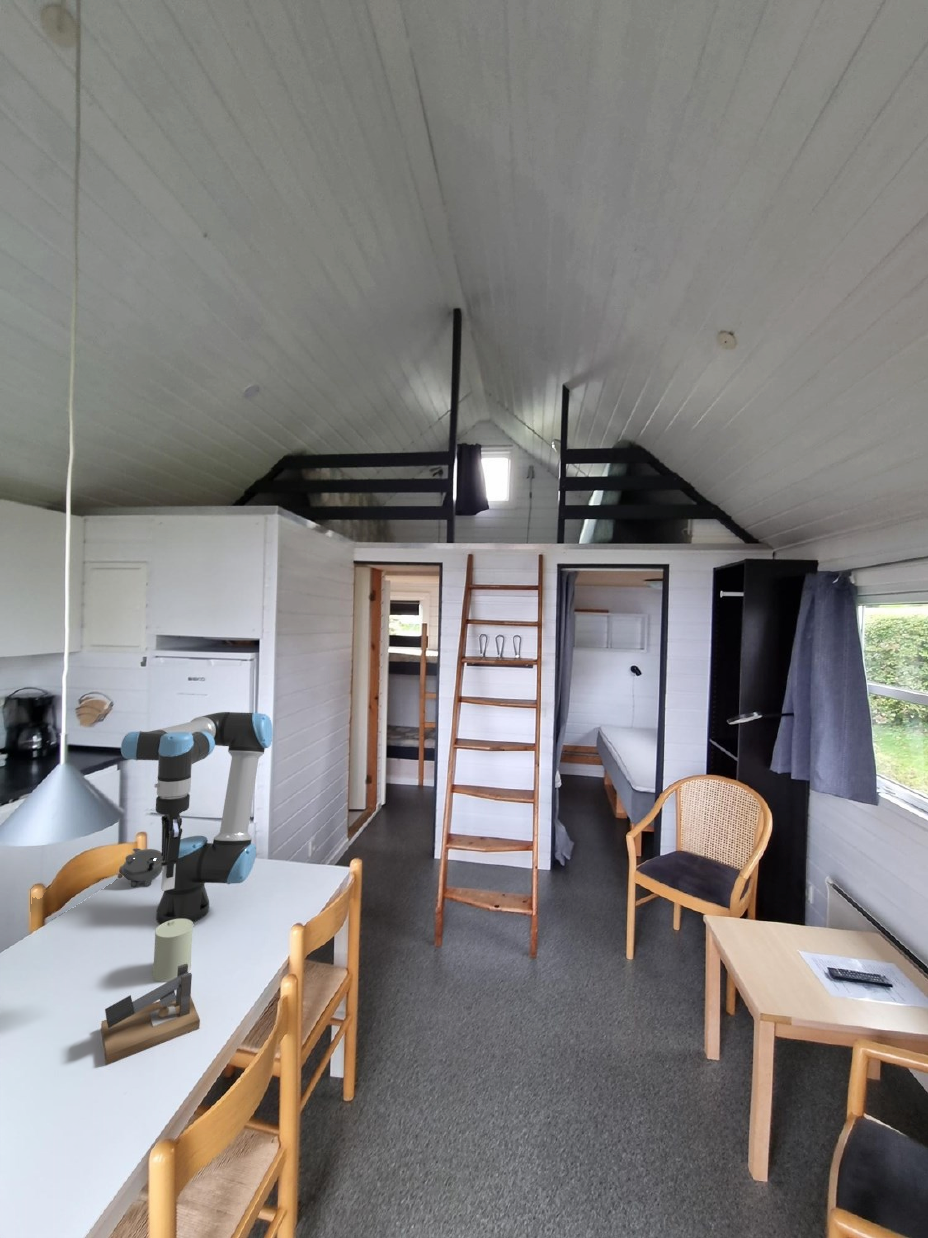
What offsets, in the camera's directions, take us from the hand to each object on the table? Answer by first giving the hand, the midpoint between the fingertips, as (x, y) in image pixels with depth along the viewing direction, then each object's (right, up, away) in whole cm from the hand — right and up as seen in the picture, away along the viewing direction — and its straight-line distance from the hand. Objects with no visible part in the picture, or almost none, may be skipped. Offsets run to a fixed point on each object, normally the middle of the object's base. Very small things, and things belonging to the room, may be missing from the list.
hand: (167, 888), depth 134 cm
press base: (+3, -26, -12) cm, 29 cm away
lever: (+3, -22, -12) cm, 25 cm away
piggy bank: (-40, -26, +55) cm, 73 cm away
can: (-4, -27, +8) cm, 28 cm away
